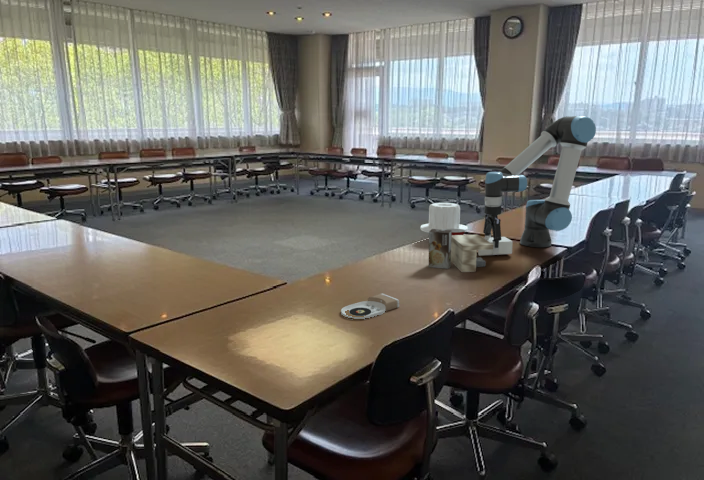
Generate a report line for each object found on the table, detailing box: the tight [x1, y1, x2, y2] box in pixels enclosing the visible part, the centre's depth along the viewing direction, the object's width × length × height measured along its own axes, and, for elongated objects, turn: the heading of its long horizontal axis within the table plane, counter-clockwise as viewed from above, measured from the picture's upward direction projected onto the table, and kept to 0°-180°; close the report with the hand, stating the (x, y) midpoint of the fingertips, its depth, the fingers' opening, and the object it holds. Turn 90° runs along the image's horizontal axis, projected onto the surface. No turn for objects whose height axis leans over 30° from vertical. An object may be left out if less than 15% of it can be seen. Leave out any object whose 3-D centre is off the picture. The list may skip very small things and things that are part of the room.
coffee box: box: [428, 229, 452, 270], centre depth 221 cm, size 9×6×16 cm
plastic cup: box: [443, 229, 466, 235], centre depth 243 cm, size 11×11×12 cm
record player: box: [340, 292, 400, 320], centre depth 171 cm, size 12×3×20 cm
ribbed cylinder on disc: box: [419, 202, 469, 234], centre depth 271 cm, size 25×25×19 cm
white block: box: [477, 236, 513, 257], centre depth 241 cm, size 16×10×6 cm, turn 95°
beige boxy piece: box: [451, 234, 493, 273], centre depth 223 cm, size 13×20×12 cm, turn 5°
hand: (491, 251), depth 241 cm, fingers closed on white block, 10 cm apart
